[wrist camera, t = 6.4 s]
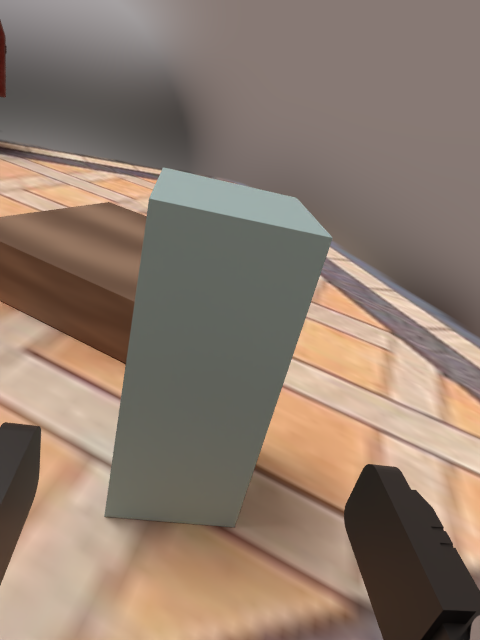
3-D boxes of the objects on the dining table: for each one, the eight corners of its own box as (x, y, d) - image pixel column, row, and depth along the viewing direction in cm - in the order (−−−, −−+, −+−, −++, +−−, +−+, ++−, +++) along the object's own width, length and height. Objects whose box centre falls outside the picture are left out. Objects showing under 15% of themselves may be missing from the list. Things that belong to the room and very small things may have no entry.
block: (234, 527, 17) (332, 237, 12) (104, 516, 16) (149, 198, 11) (227, 438, 22) (296, 198, 16) (124, 426, 21) (163, 167, 16)
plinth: (133, 367, 25) (143, 305, 23) (-39, 281, 29) (-42, 222, 27) (236, 299, 37) (247, 254, 35) (104, 244, 41) (109, 202, 39)
